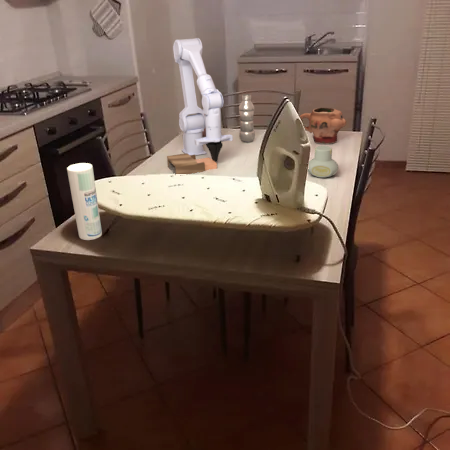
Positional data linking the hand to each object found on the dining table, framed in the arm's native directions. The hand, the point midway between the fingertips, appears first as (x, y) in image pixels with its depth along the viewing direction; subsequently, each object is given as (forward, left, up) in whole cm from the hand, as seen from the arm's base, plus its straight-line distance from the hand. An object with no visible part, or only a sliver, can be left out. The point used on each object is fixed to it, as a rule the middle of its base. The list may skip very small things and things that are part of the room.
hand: (214, 161), depth 192 cm
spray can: (+41, -53, -2) cm, 67 cm away
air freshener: (+28, +30, -2) cm, 41 cm away
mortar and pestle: (-39, +11, -2) cm, 41 cm away
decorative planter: (-8, +52, -2) cm, 53 cm away
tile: (0, -6, -2) cm, 6 cm away
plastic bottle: (-23, +24, -2) cm, 33 cm away
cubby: (0, -11, -1) cm, 11 cm away
